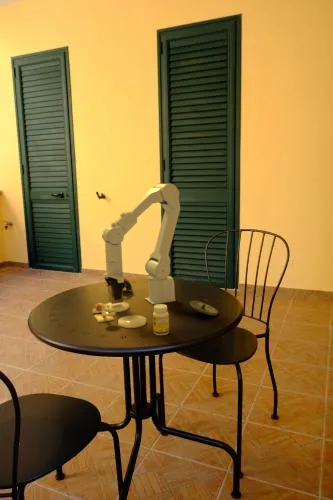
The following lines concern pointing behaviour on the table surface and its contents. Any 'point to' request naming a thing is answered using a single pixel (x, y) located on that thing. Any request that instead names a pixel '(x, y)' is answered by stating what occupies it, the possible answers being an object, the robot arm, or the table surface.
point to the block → (111, 296)
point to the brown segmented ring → (127, 286)
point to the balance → (103, 313)
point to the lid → (203, 307)
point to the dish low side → (118, 306)
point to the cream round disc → (132, 321)
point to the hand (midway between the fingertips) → (115, 297)
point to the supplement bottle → (160, 320)
